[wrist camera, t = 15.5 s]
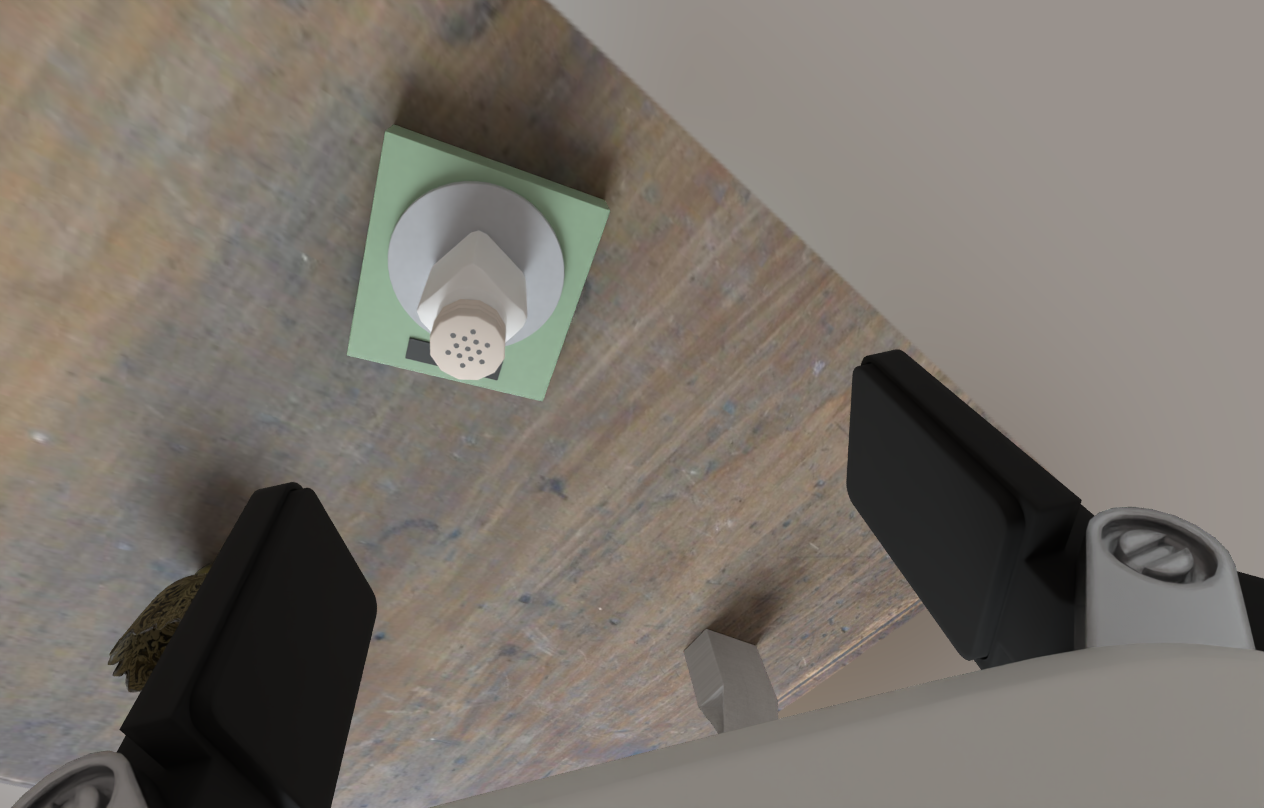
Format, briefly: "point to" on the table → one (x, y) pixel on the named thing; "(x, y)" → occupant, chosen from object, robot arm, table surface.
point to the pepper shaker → (473, 307)
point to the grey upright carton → (730, 682)
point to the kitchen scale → (441, 218)
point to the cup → (154, 631)
